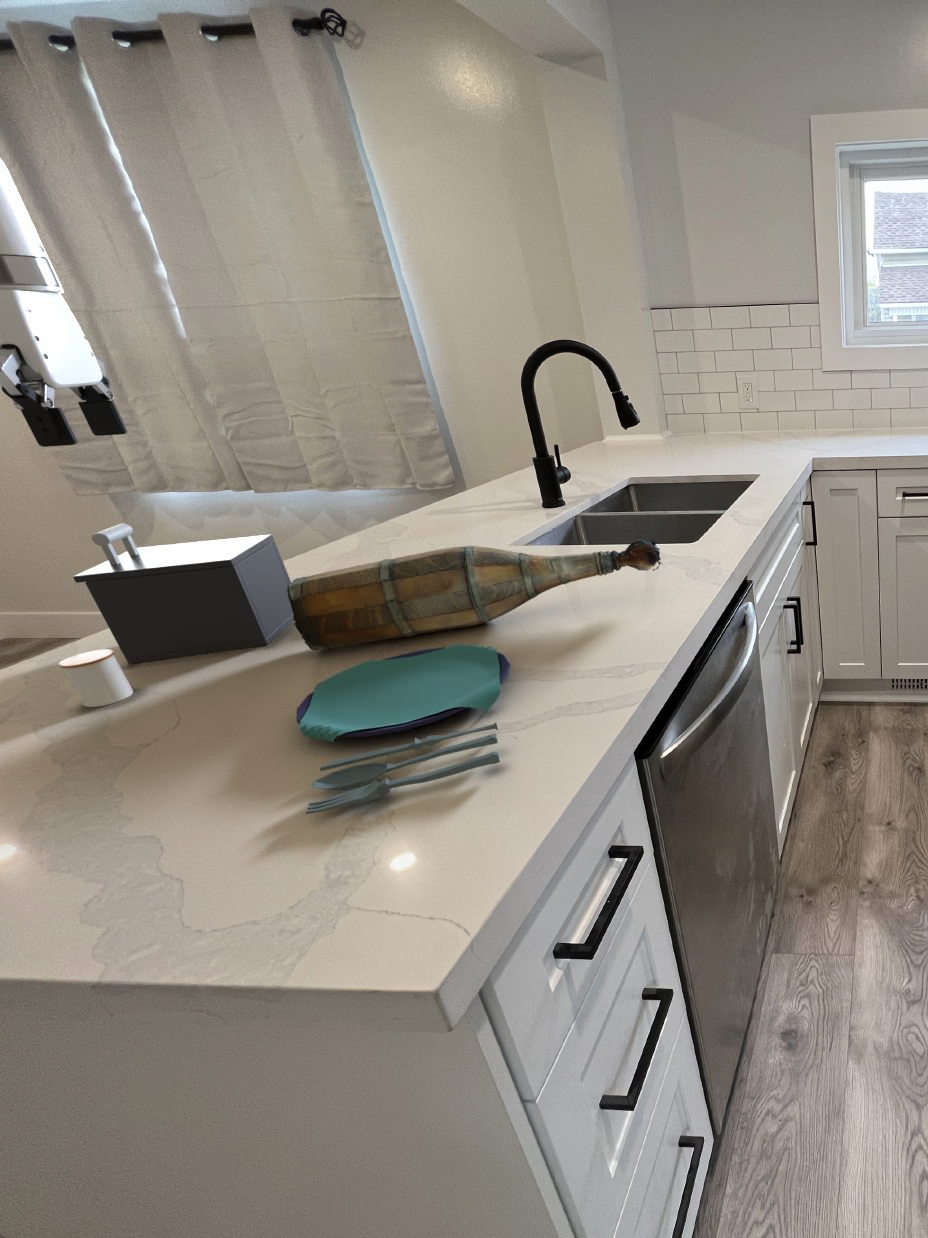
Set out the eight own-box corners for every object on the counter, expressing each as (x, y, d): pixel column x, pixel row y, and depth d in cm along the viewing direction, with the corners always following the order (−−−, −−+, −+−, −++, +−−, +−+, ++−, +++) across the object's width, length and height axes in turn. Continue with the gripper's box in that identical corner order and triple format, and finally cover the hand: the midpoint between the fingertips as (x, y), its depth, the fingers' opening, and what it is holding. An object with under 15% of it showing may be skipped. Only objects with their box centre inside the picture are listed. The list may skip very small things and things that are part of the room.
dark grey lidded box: (128, 664, 86) (84, 582, 82) (180, 627, 97) (144, 553, 92) (267, 645, 90) (233, 566, 86) (303, 611, 101) (274, 540, 97)
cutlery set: (510, 647, 87) (505, 630, 86) (526, 766, 63) (520, 745, 62) (320, 685, 79) (313, 667, 78) (254, 838, 55) (242, 815, 54)
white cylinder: (73, 710, 75) (48, 668, 73) (97, 693, 79) (74, 652, 77) (121, 703, 77) (98, 661, 74) (142, 686, 80) (121, 646, 78)
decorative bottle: (286, 648, 81) (673, 582, 96) (269, 561, 82) (657, 510, 97) (324, 658, 91) (669, 597, 107) (309, 580, 92) (654, 531, 107)
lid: (75, 583, 81) (54, 543, 79) (137, 553, 92) (119, 518, 90) (233, 565, 86) (216, 528, 84) (274, 539, 97) (260, 505, 94)
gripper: (19, 283, 81) (92, 433, 89) (-109, 271, 67) (-9, 453, 74) (100, 282, 84) (164, 429, 91) (-7, 271, 69) (80, 447, 76)
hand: (86, 439), depth 82 cm, fingers open, 9 cm apart
